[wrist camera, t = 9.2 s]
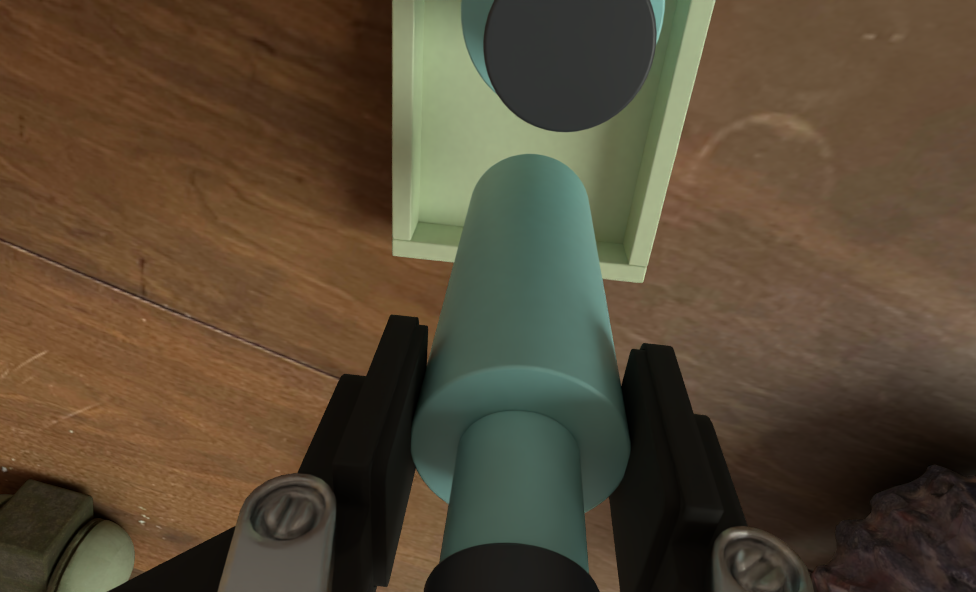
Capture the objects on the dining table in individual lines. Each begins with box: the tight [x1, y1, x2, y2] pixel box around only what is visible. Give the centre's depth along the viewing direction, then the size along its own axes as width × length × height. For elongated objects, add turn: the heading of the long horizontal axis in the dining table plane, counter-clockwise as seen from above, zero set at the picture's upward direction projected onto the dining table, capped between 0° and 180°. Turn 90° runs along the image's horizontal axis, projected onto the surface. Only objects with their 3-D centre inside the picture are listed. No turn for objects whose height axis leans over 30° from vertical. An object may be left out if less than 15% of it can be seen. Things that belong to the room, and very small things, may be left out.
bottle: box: [411, 154, 631, 592], centre depth 14 cm, size 4×4×15 cm
